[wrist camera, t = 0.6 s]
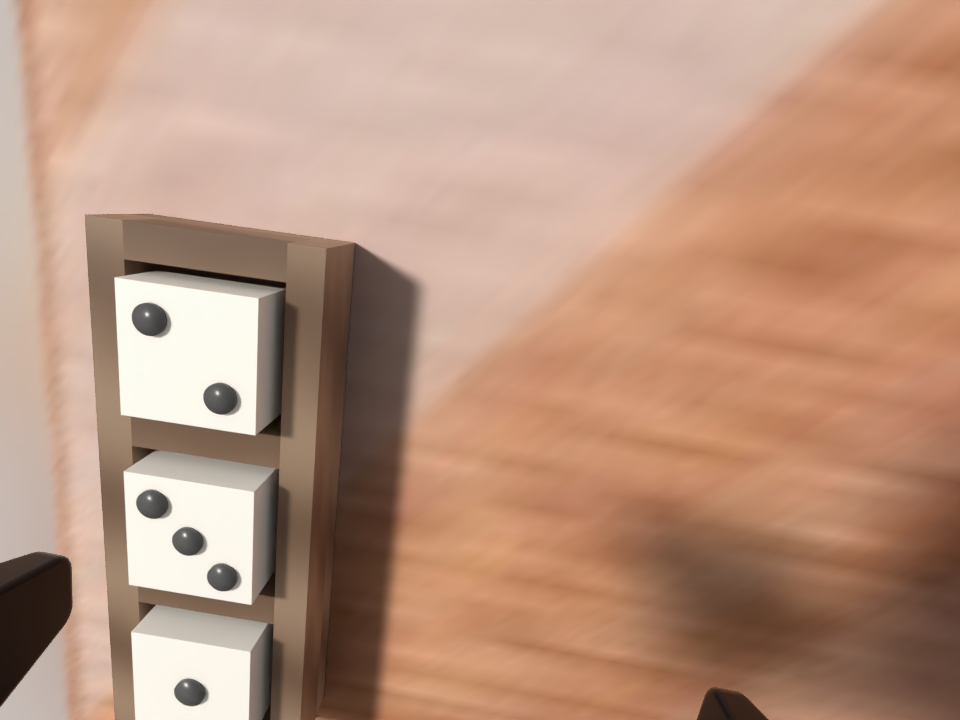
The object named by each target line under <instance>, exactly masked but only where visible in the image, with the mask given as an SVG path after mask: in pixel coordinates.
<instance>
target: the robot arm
mask: <svg viewBox="0 0 960 720" xmlns="http://www.w3.org/2000/svg"><path fill="white" fill-rule="evenodd" d="M72 603H73V602H72V567H71V563H70V561H69V559H68V558H66V557H65V556H61V555H56V554H51V553H46V552H35V553H31V554H28V555H24V556H21V557H18V558H15V559H12V560H9V561H5V562H2V563H0V707H1V706H2V704H3V703H4V702H5V701H6V699H7V698H8V696H9V695H10V694H11V693H12V692H13V690H14V689H15V688H16V686H17V685H18V684H19V683H20V681H21V680H22V679H23V678H24V676H25V675H26V674H27V672H28V671H29V670H30V669H31V667H32V666H33V665H34V663H35V662H36V660H38V658H39V657H40V656H41V655H42V653H43V652H44V651H45V649H46V648H47V647H48V645H49V644H50V643H51V642H52V640H53V639H54V638H55V636H56V635H57V634H58V633H59V631H60V630H61V629H62V628H63V626H64V625H65V623H66V622H67V620H68V618H69V616H70V613H71V610H72ZM697 720H768V719H767V718H766V717H765V716H764V715H763V714H762V713H761V712H760V711H759V710H758V709H757V708H756V707H755V706H754V705H753V704H752V702H751V701H750V700H749V699H748V698H746V697H745V696H744V695H743V694H741V693H739V692H736V691H732V690H727V689H722V688H717V687H713V688H710V689H709V690H708V691H707V693H706V695H705V697H704V700H703V703H702V706H701V709H700V712H699V715H698V718H697Z"/></svg>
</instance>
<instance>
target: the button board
mask: <svg viewBox="0 0 960 720" xmlns="http://www.w3.org/2000/svg"><path fill="white" fill-rule="evenodd" d="M85 227H86V244H87V260H88V277H89V294H90V310H91V327H92V344H93V361H94V377H95V394H96V411H97V427H98V444H99V461H100V478H101V494H102V511H103V528H104V544H105V561H106V578H107V595H108V611H109V628H110V645H111V661H112V678H113V695H114V712H115V720H135V703H134V682H133V661H132V639H131V631H132V630H133V629H134V628H135V627H136V626H137V625H138V624H139V623H140V622H141V621H142V620H143V618H144V617H145V616H146V615H147V614H148V613H149V612H150V611H151V610H152V609H153V608H154V607H155V605H161V606H167V607H173V608H179V609H185V610H191V611H197V612H203V613H209V614H215V615H221V616H227V617H233V618H239V619H245V620H251V621H257V622H263V623H269V624H274V631H273V659H272V686H271V703H270V705H269V707H268V709H267V711H266V713H265V715H264V717H263V719H262V720H315V718H316V716H317V713H318V711H319V708H320V706H321V704H322V701H323V699H324V688H325V673H326V659H327V644H328V630H329V615H330V601H331V586H332V571H333V557H334V542H335V528H336V513H337V498H338V484H339V469H340V455H341V440H342V426H343V411H344V396H345V382H346V367H347V353H348V338H349V324H350V309H351V294H352V280H353V265H354V251H355V243H353V242H346V241H338V240H331V239H324V238H317V237H310V236H303V235H296V234H288V233H281V232H274V231H267V230H260V229H253V228H245V227H238V226H231V225H224V224H217V223H210V222H203V221H195V220H188V219H181V218H174V217H167V216H160V215H153V214H102V215H85ZM156 270H158V271H165V272H172V273H179V274H186V275H193V276H200V277H207V278H214V279H221V280H228V281H235V282H242V283H249V284H256V285H262V286H269V287H276V288H283V289H286V301H285V329H284V356H283V384H282V411H281V414H280V415H279V416H278V417H277V418H275V419H274V420H273V421H272V422H271V423H270V424H268V425H267V426H266V427H265V428H264V429H262V430H261V431H260V432H259V433H258V434H257V435H249V434H242V433H236V432H229V431H223V430H216V429H210V428H203V427H197V426H190V425H184V424H177V423H171V422H164V421H158V420H151V419H145V418H138V417H132V416H125V415H121V407H120V386H119V364H118V343H117V322H116V301H115V280H114V277H120V276H126V275H132V274H138V273H144V272H150V271H156ZM155 450H161V451H168V452H174V453H181V454H187V455H193V456H200V457H206V458H213V459H219V460H225V461H232V462H238V463H245V464H251V465H258V466H264V467H270V468H277V469H279V494H278V521H277V549H276V570H275V571H274V573H273V574H272V576H271V577H270V579H269V580H268V582H267V583H266V585H265V586H264V587H263V589H262V590H261V592H260V593H259V595H258V596H257V598H256V599H255V601H254V602H253V603H252V605H248V604H242V603H236V602H230V601H224V600H218V599H212V598H206V597H200V596H194V595H188V594H182V593H176V592H170V591H164V590H158V589H152V588H146V587H140V586H134V585H129V576H128V555H127V534H126V512H125V491H124V471H125V470H126V469H128V468H129V467H131V466H132V465H134V464H135V463H137V462H139V461H140V460H142V459H143V458H145V457H146V456H148V455H149V454H151V453H152V452H154V451H155Z"/></svg>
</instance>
